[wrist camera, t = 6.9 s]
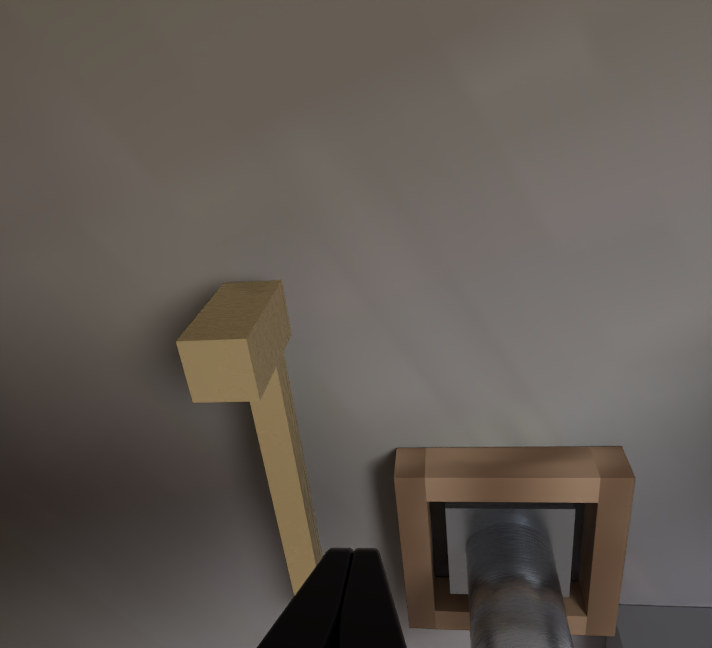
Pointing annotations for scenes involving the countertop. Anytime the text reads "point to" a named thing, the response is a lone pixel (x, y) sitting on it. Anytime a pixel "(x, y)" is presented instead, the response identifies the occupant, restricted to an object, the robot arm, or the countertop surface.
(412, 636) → the countertop surface
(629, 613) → the frame
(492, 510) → the grey metal knob
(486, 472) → the walnut socket
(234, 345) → the bar
